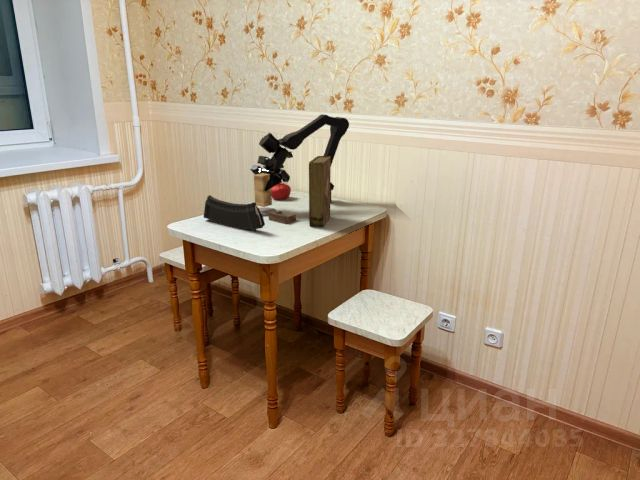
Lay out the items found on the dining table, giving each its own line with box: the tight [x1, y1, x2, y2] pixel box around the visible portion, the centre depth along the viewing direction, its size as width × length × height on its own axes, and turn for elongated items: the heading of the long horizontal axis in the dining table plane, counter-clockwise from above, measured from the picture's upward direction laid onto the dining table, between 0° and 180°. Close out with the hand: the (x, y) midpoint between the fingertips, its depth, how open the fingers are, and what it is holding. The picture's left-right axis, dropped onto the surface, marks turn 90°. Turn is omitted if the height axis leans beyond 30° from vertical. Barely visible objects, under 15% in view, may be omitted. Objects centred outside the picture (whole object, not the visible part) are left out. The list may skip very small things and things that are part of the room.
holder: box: [268, 210, 297, 225], centre depth 193 cm, size 7×9×3 cm
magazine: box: [203, 195, 266, 232], centre depth 185 cm, size 17×3×30 cm
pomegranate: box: [271, 182, 292, 201], centre depth 227 cm, size 10×10×9 cm
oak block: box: [253, 173, 273, 208], centre depth 201 cm, size 5×5×13 cm
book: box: [308, 155, 332, 228], centre depth 187 cm, size 16×6×25 cm, turn 168°
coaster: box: [258, 207, 277, 217], centre depth 204 cm, size 11×11×1 cm
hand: (260, 189), depth 200 cm, fingers closed on oak block, 5 cm apart
